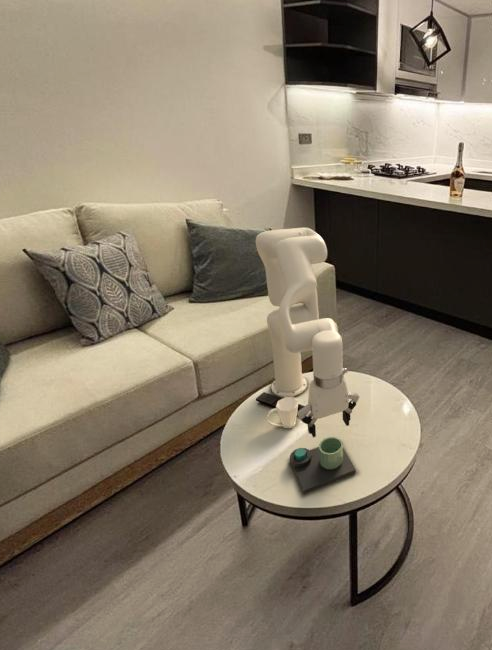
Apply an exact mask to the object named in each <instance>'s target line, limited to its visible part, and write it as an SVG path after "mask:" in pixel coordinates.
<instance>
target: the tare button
mask: <svg viewBox="0 0 492 650" xmlns="http://www.w3.org/2000/svg"><path fill="white" fill-rule="evenodd" d="M297 449H298V450H296V449H295V450H296V452H295V458H296V460H298V461H301V460H304V459H305V458H306V451H305V450H304V449H299V448H297Z"/></svg>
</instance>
